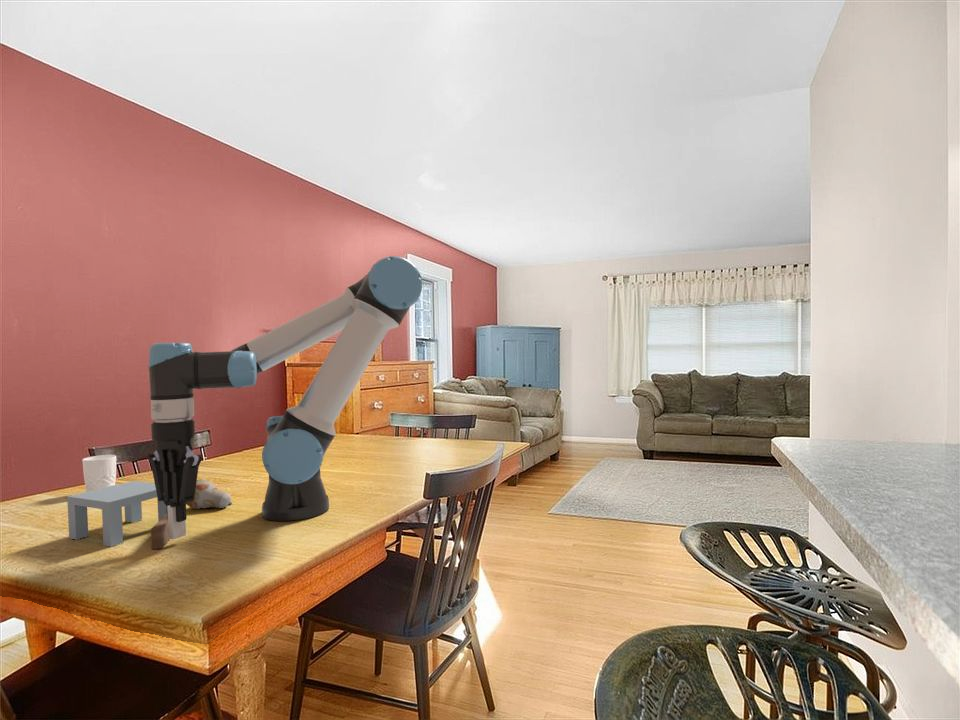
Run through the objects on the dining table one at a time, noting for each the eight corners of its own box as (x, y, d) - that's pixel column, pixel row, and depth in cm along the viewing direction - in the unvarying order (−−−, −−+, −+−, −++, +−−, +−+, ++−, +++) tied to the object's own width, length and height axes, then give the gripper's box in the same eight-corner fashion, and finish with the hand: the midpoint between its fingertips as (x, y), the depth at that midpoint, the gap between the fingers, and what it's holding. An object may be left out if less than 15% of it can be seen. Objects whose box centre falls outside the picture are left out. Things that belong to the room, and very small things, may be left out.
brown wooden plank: (173, 525, 119) (172, 505, 119) (182, 524, 119) (181, 504, 119) (151, 550, 104) (150, 526, 104) (162, 549, 105) (161, 525, 105)
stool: (176, 525, 119) (174, 485, 119) (111, 547, 107) (109, 502, 106) (135, 518, 125) (133, 480, 125) (69, 538, 112) (67, 496, 112)
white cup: (123, 490, 152) (121, 456, 152) (91, 497, 146) (89, 461, 146) (110, 487, 157) (108, 453, 156) (78, 494, 150) (77, 458, 150)
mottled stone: (224, 513, 129) (200, 479, 127) (196, 528, 131) (172, 495, 130) (242, 497, 136) (219, 465, 134) (216, 511, 138) (193, 480, 137)
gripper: (133, 421, 106) (137, 539, 106) (178, 423, 101) (182, 547, 101) (168, 416, 113) (172, 527, 113) (212, 418, 108) (216, 534, 108)
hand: (177, 536), depth 107 cm, fingers closed
